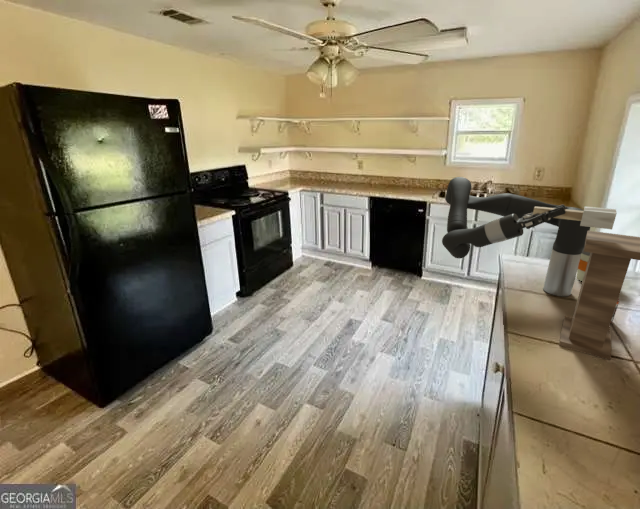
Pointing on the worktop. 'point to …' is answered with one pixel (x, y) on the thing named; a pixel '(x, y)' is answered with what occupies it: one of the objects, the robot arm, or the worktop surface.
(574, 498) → the worktop surface
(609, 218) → the grey and beige bar
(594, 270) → the stand
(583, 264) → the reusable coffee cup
